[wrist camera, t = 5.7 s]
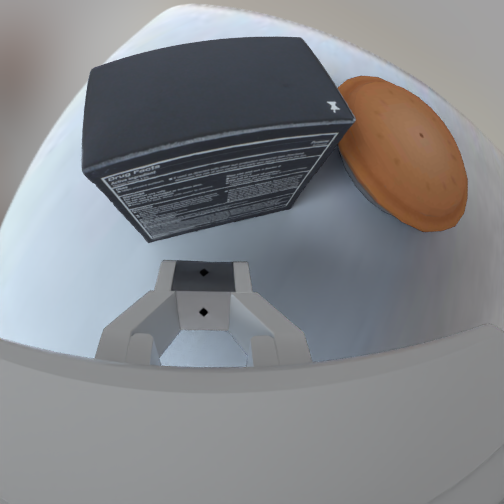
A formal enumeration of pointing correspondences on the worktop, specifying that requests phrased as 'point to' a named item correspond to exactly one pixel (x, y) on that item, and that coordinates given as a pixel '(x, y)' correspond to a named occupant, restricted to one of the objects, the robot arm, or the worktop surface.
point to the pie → (402, 155)
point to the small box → (209, 131)
